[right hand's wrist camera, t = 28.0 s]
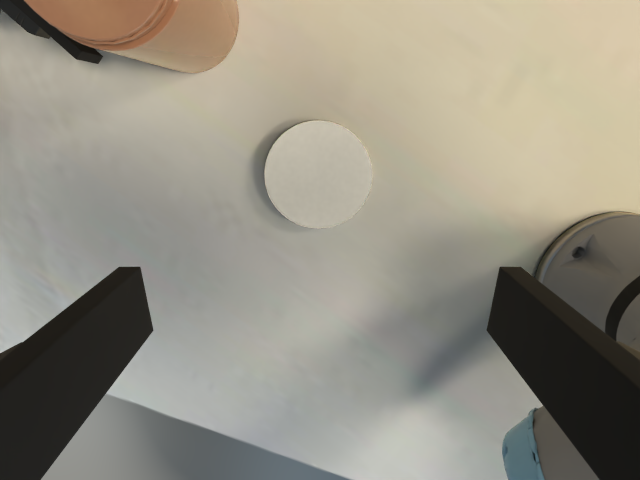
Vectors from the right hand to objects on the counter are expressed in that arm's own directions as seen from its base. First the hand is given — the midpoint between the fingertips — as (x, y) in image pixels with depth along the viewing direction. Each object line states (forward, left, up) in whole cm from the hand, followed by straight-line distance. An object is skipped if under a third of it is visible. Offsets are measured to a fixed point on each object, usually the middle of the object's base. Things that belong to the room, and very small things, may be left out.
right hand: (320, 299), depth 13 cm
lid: (0, 0, -24) cm, 24 cm away
